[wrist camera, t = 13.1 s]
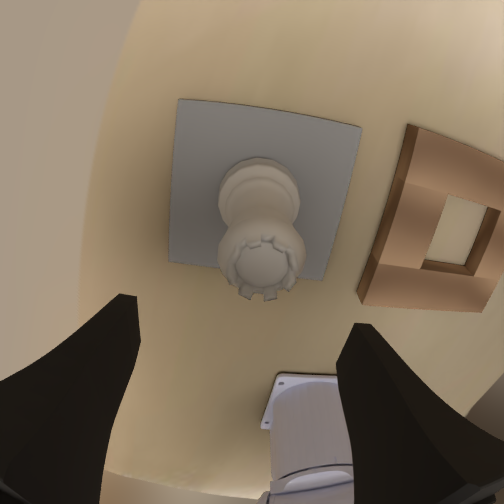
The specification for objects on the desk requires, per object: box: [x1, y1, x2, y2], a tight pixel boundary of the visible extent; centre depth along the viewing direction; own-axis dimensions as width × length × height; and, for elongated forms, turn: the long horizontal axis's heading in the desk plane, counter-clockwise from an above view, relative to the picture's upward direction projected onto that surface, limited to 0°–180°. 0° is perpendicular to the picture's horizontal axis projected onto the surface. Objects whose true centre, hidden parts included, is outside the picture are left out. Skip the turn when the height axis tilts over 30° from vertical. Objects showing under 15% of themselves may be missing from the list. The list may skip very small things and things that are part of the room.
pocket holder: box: [357, 124, 504, 313], centre depth 19 cm, size 12×12×2 cm
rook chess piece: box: [217, 158, 307, 301], centre depth 14 cm, size 4×4×8 cm
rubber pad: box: [169, 99, 362, 281], centre depth 18 cm, size 10×10×1 cm
